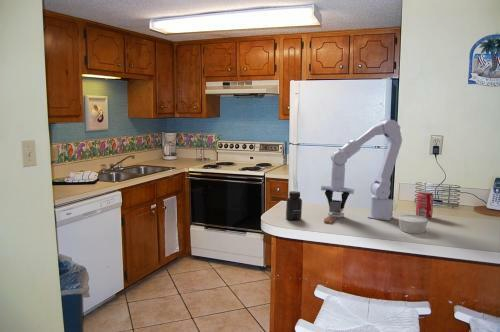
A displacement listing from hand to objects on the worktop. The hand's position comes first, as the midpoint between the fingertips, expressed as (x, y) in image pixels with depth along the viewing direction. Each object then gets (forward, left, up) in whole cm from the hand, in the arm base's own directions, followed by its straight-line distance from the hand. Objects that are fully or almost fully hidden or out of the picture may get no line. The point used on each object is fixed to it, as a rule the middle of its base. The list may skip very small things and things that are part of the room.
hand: (336, 207), depth 188 cm
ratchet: (0, +5, -4) cm, 6 cm away
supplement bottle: (+15, +14, -4) cm, 21 cm away
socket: (0, 0, -2) cm, 2 cm away
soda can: (-35, -20, -4) cm, 41 cm away
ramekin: (-33, +5, -4) cm, 34 cm away
